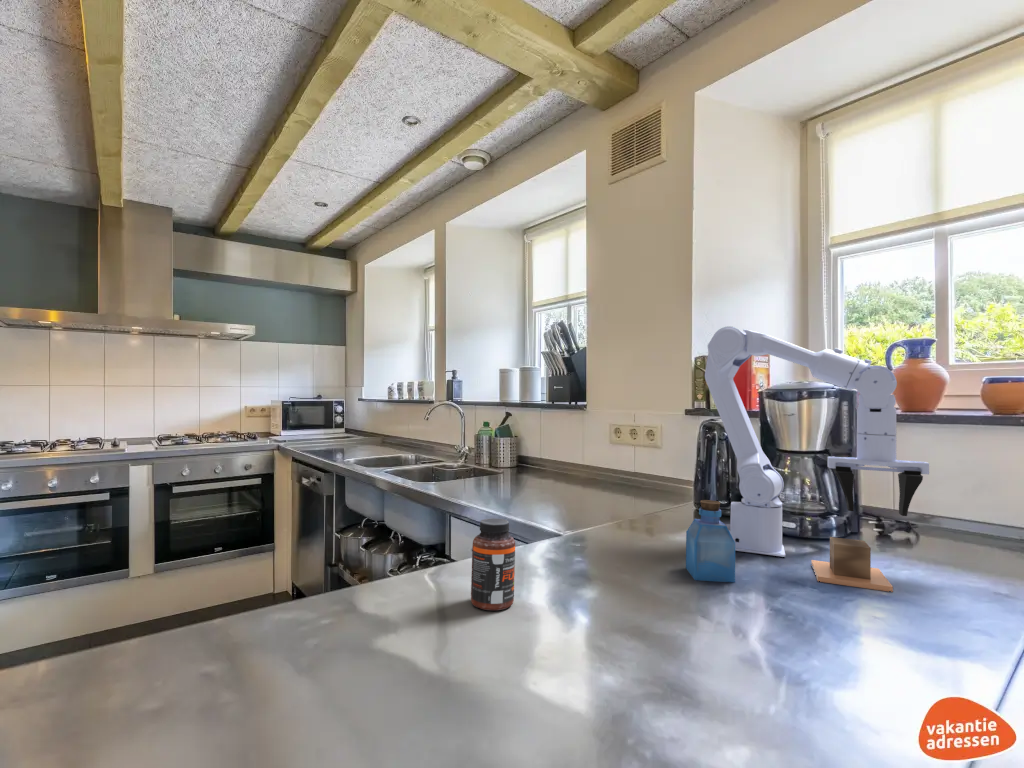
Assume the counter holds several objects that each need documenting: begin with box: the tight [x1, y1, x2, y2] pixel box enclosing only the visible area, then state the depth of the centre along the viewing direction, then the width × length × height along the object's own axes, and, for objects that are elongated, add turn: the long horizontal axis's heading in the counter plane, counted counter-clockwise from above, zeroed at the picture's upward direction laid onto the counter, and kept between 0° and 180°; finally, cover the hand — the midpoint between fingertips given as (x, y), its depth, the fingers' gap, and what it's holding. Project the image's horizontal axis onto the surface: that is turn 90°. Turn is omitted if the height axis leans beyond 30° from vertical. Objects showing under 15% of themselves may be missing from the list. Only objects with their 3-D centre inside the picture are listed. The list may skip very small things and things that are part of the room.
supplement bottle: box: [470, 517, 516, 612], centre depth 72 cm, size 6×6×11 cm
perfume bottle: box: [685, 499, 736, 583], centre depth 87 cm, size 6×6×12 cm
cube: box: [829, 536, 872, 580], centre depth 87 cm, size 5×5×5 cm
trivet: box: [810, 559, 894, 593], centre depth 87 cm, size 10×10×1 cm
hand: (876, 512), depth 92 cm, fingers open, 7 cm apart
